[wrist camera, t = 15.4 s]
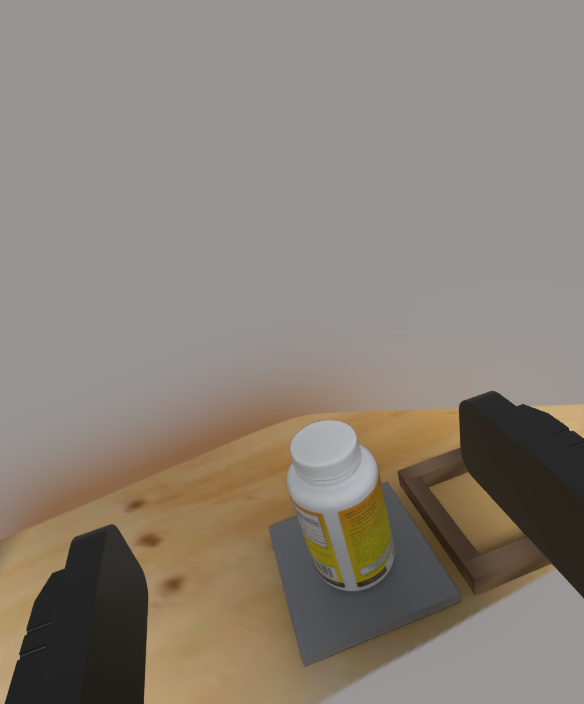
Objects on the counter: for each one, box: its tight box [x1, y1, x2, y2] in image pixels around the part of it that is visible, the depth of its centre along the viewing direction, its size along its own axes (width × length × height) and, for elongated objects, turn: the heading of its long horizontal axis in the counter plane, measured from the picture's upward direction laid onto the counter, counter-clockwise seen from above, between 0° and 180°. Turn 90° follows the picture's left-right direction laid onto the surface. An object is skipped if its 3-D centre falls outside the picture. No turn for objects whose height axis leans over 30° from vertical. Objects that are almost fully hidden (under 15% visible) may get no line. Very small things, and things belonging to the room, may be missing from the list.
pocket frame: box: [398, 448, 551, 595], centre depth 31 cm, size 10×10×2 cm
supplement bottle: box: [287, 420, 394, 591], centre depth 27 cm, size 6×6×10 cm
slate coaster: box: [269, 482, 461, 666], centre depth 30 cm, size 10×10×1 cm
